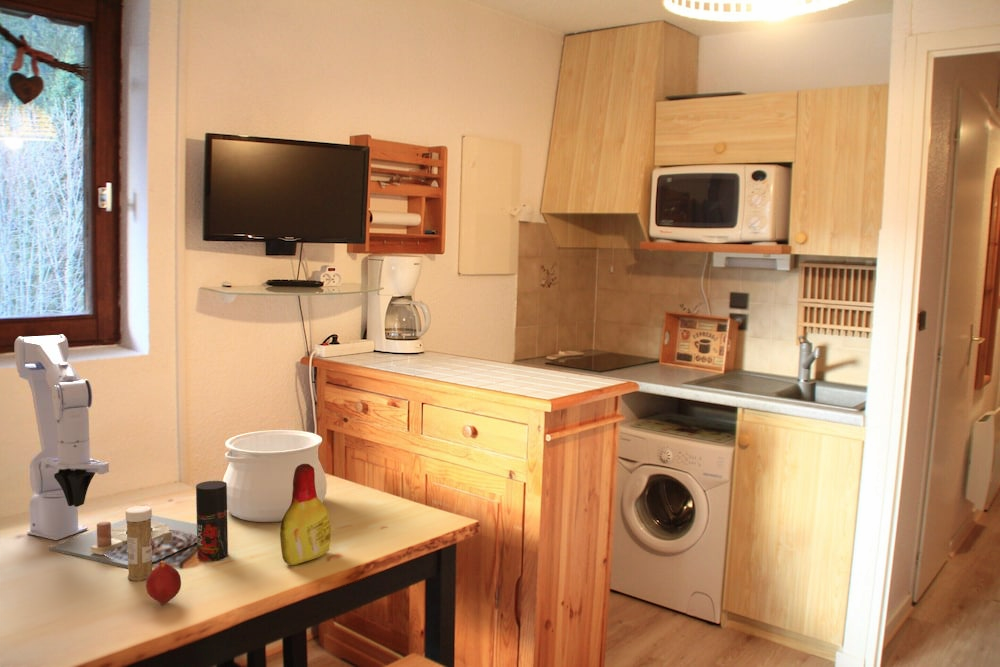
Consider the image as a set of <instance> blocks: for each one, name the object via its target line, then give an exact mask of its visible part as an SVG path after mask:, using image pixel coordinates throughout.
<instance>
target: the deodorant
mask: <svg viewBox="0 0 1000 667" xmlns="http://www.w3.org/2000/svg"><path fill="white" fill-rule="evenodd" d="M195 492H196V493H195V496H196V497H195V498H196V499H195V502H196V524H197V545H196V546H197V547H196V549H197V550H196V551H197V552H196V553H197V557H196V558H197V560H198V559H199V560H198V561H200V562H205V563H213V562H218V561H223V560H224V559H227V557H228V556H229V543H228V542H229V541H228V540H229V538H228V536H229V534H228V533H229V532H228V510H227V483H226V482H223V480H209V481H202V482H199V483H198V484H196V486H195Z"/></svg>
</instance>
